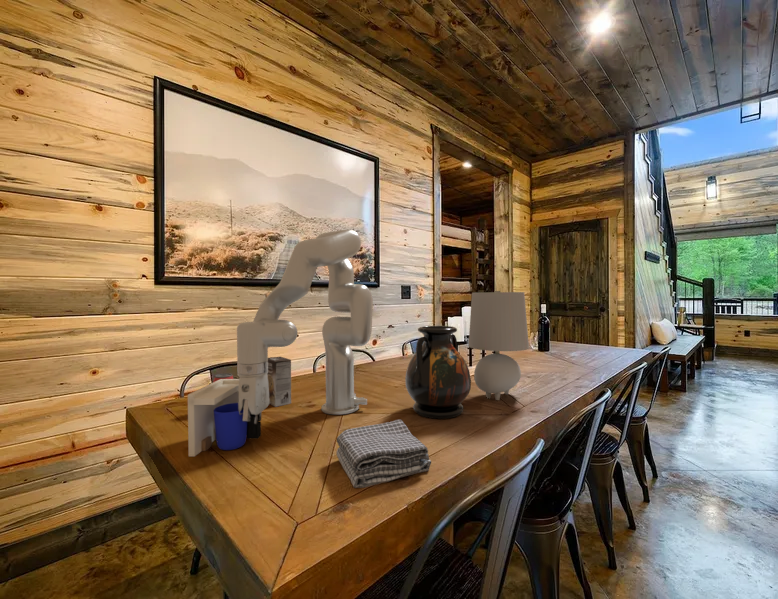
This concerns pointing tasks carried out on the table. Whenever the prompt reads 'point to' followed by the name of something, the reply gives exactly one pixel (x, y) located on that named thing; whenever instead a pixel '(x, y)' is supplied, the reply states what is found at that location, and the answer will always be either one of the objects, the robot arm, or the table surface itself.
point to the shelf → (207, 412)
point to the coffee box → (279, 381)
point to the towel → (381, 453)
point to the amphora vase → (438, 374)
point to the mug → (230, 427)
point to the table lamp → (498, 338)
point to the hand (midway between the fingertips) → (253, 437)
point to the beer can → (223, 376)
